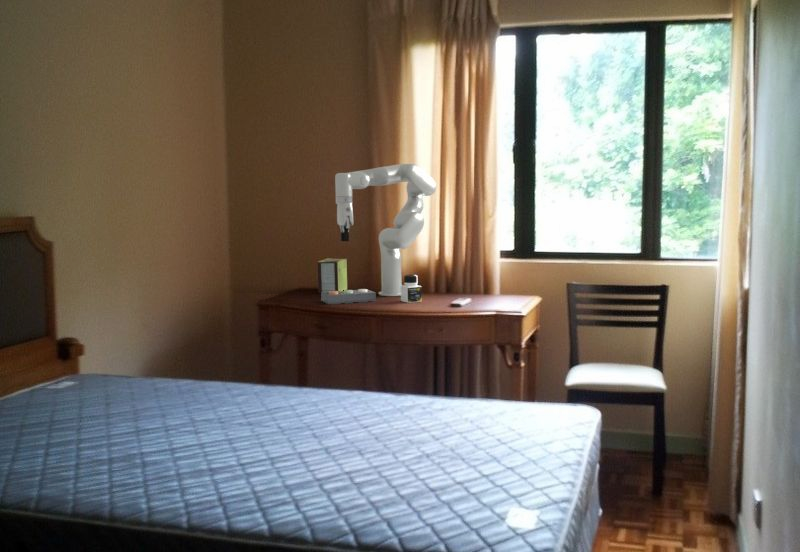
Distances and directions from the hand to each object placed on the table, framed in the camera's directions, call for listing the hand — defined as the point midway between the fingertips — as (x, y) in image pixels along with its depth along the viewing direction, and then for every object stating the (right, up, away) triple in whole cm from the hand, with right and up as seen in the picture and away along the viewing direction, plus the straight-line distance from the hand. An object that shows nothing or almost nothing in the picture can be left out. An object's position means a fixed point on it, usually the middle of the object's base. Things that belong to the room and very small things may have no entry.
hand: (345, 241), depth 393 cm
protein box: (-8, -24, +35) cm, 43 cm away
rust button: (-5, -26, -2) cm, 27 cm away
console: (+2, -27, 0) cm, 27 cm away
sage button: (+2, -26, 0) cm, 26 cm away
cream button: (+8, -25, +3) cm, 27 cm away
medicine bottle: (+30, -27, -3) cm, 41 cm away
